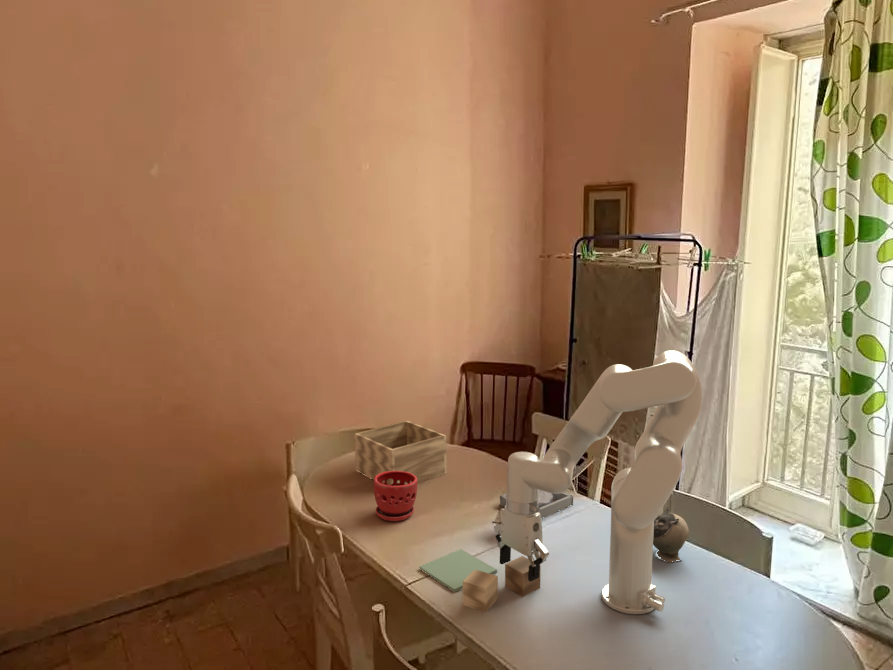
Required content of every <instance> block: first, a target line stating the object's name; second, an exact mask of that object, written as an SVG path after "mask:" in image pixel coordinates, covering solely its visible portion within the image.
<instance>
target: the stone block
mask: <svg viewBox="0 0 893 670" xmlns="http://www.w3.org/2000/svg"><path fill="white" fill-rule="evenodd" d="M552 502H554V499H553V495H552V494H551V493H548V492H545V491H542V490H539V494H538V507H539V508H540V507H543V506H545V505H548V504H550V503H552Z"/></svg>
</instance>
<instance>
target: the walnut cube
mask: <svg viewBox="0 0 893 670" xmlns="http://www.w3.org/2000/svg"><path fill="white" fill-rule="evenodd" d="M529 565H531V563H530V561H529V559H528V557H526V556H525V555H521V556H520V557H517V558H515V559H513V560H510V561H509V562H507V563H504V569H505V570H504V587H505V588H507V589H508V590H509V591H512V592H513V593H515V594H517V595H519V596H520V597H521V598H524V597H525V596H527V595H529V594H532V593H534V592H535V591H537V590H540V589H541V573H540V574H539V578H538V579H536V580H533V581H531V582H530V581H529V580H528V573H529ZM541 567H542V566H541V564H540V568H541Z"/></svg>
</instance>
